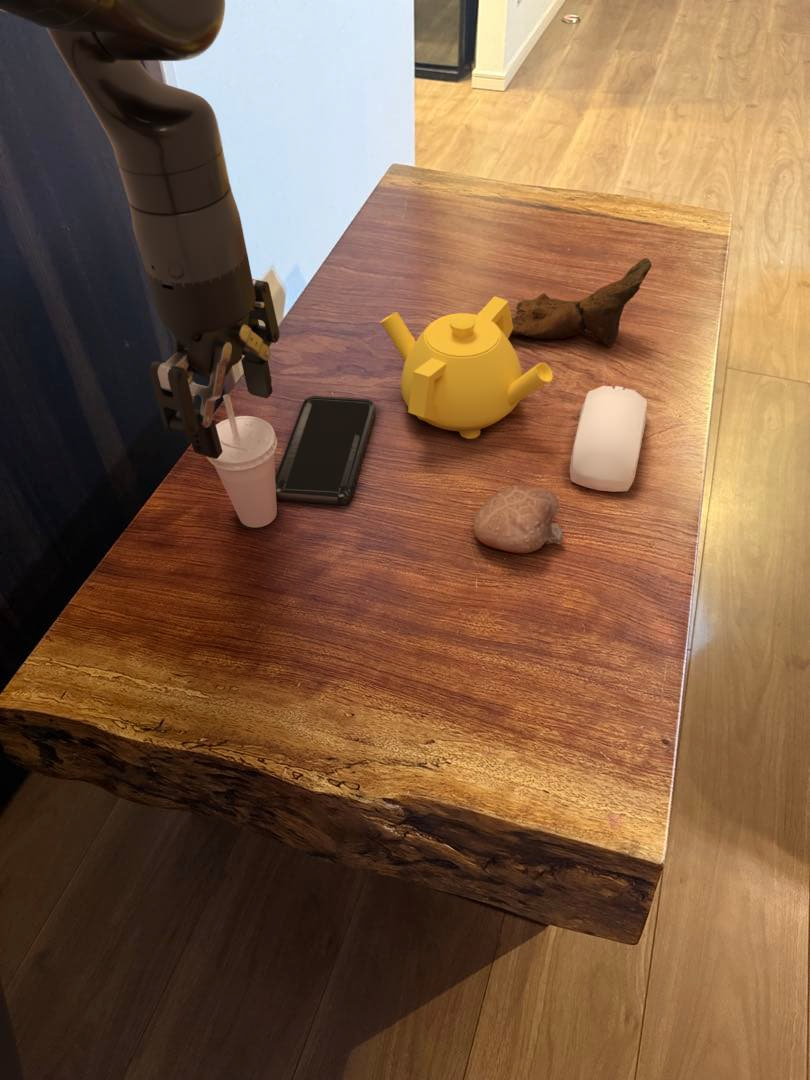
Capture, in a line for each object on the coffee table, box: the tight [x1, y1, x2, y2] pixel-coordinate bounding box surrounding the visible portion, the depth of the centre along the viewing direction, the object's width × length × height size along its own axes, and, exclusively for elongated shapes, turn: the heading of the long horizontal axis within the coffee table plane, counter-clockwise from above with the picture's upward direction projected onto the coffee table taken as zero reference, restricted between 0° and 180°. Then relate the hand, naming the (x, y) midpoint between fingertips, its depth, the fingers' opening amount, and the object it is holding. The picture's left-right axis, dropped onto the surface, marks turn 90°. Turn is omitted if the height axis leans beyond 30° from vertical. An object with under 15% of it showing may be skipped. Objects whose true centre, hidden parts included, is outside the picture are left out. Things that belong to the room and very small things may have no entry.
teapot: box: [380, 295, 554, 440], centre depth 87 cm, size 20×18×11 cm
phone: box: [275, 395, 376, 506], centre depth 86 cm, size 8×1×15 cm
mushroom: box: [472, 484, 565, 554], centre depth 77 cm, size 8×6×8 cm
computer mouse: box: [569, 385, 648, 493], centre depth 83 cm, size 6×13×6 cm, turn 163°
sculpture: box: [510, 257, 652, 347], centre depth 96 cm, size 8×10×15 cm
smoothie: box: [205, 393, 278, 529], centre depth 76 cm, size 6×6×14 cm
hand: (236, 423), depth 73 cm, fingers open, 8 cm apart
